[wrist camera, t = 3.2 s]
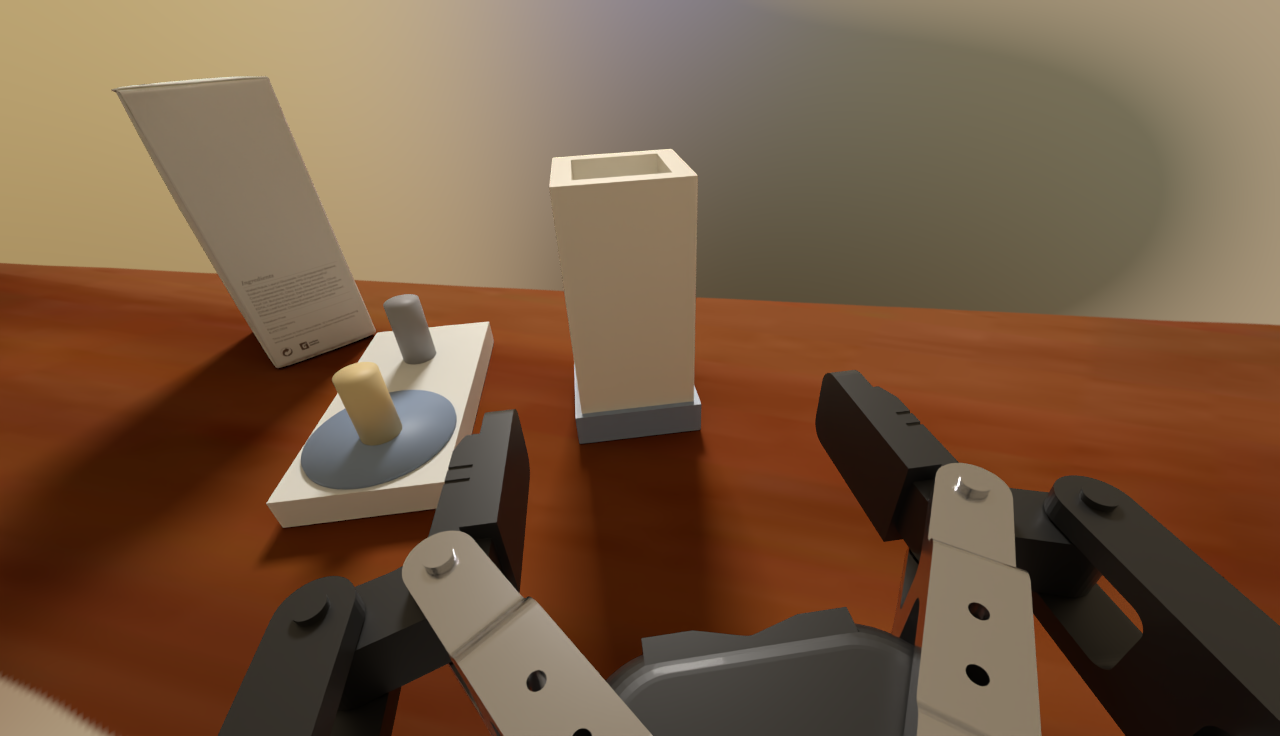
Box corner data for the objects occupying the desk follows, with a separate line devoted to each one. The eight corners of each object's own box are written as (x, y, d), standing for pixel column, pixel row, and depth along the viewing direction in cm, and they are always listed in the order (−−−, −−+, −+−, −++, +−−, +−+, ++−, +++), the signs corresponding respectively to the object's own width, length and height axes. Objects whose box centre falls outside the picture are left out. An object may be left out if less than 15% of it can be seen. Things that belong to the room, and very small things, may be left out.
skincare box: (379, 336, 34) (276, 75, 25) (269, 375, 31) (106, 87, 22) (344, 299, 39) (249, 73, 31) (247, 329, 36) (109, 83, 27)
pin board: (454, 506, 21) (419, 415, 18) (282, 527, 21) (221, 437, 18) (493, 341, 33) (476, 270, 30) (385, 352, 32) (357, 281, 29)
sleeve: (700, 429, 24) (707, 176, 18) (579, 444, 24) (540, 189, 17) (677, 364, 29) (677, 147, 23) (577, 374, 29) (546, 156, 22)
